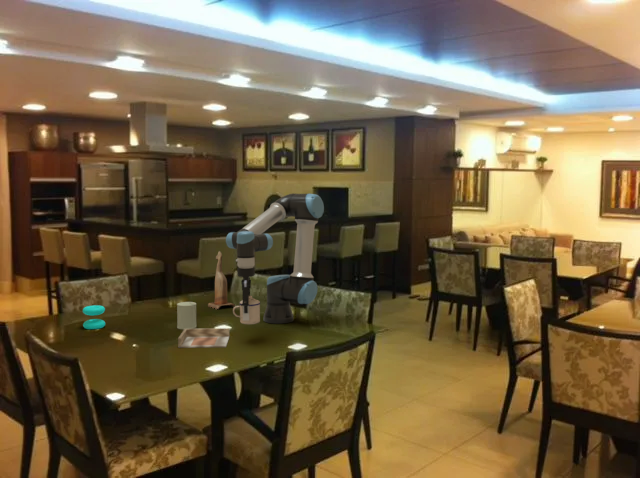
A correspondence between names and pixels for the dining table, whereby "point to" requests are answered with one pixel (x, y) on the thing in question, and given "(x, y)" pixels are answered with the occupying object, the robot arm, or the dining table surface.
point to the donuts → (94, 322)
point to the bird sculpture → (220, 286)
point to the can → (186, 315)
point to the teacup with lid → (250, 311)
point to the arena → (203, 338)
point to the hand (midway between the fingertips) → (246, 317)
